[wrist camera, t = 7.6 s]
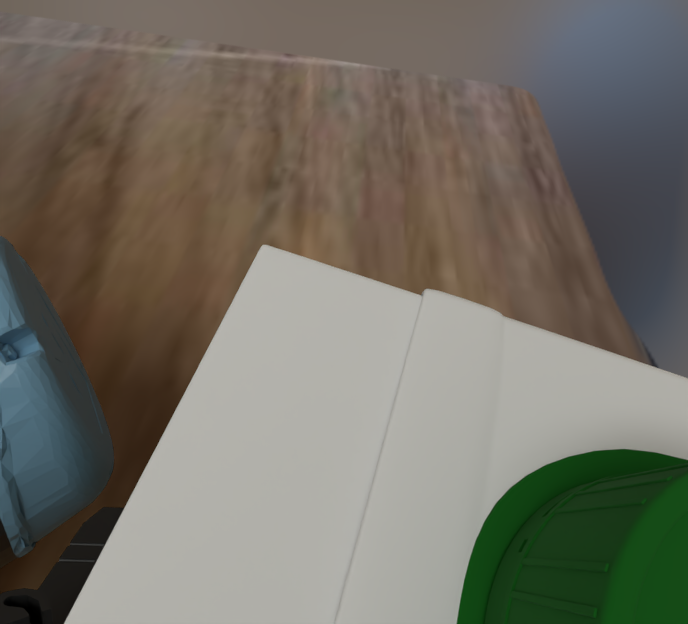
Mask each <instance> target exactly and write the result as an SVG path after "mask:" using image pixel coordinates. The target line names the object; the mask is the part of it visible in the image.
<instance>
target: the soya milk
mask: <svg viewBox="0 0 688 624" xmlns="http://www.w3.org/2000/svg"><path fill="white" fill-rule="evenodd" d="M64 624H688V378H685V377H682V376H679V375H676V374H673V373H670V372H667V371H665V370H662V369H659V368H656V367H653V366H650V365H647V364H644V363H641V362H638V361H635V360H632V359H629V358H626V357H623V356H620V355H617V354H615V353H612V352H609V351H606V350H603V349H600V348H597V347H594V346H591V345H588V344H585V343H582V342H579V341H576V340H573V339H570V338H567V337H564V336H562V335H559V334H556V333H553V332H550V331H547V330H544V329H541V328H538V327H535V326H532V325H529V324H526V323H523V322H520V321H517V320H514V319H511V318H508V317H505V316H503V315H502V314H501V313H500V312H498V311H496V310H494V309H492V308H489V307H487V306H484V305H481V304H478V303H475V302H472V301H469V300H467V299H464V298H460V297H457V296H454V295H451V294H448V293H444V292H441V291H438V290H432V289H425V290H424V291H423V293H422V294H421V295H418V294H415V293H412V292H409V291H406V290H403V289H400V288H397V287H394V286H391V285H388V284H384V283H381V282H378V281H375V280H372V279H369V278H366V277H363V276H360V275H357V274H354V273H351V272H348V271H345V270H342V269H339V268H336V267H333V266H330V265H327V264H324V263H321V262H318V261H314V260H311V259H308V258H305V257H302V256H299V255H296V254H293V253H290V252H287V251H284V250H281V249H277V248H274V247H271V246H268V245H262V247H261V248H260V250H259V252H258V253H257V255H256V257H255V259H254V261H253V263H252V265H251V267H250V269H249V271H248V272H247V274H246V276H245V278H244V280H243V282H242V284H241V286H240V288H239V290H238V292H237V294H236V295H235V297H234V299H233V301H232V303H231V305H230V307H229V309H228V311H227V313H226V315H225V316H224V318H223V320H222V322H221V324H220V326H219V328H218V330H217V332H216V334H215V336H214V338H213V339H212V341H211V343H210V345H209V347H208V349H207V351H206V353H205V355H204V357H203V359H202V360H201V362H200V364H199V366H198V368H197V370H196V372H195V374H194V376H193V378H192V380H191V382H190V383H189V385H188V387H187V389H186V391H185V393H184V395H183V397H182V399H181V401H180V403H179V404H178V406H177V408H176V410H175V412H174V414H173V416H172V418H171V420H170V422H169V424H168V426H167V427H166V429H165V431H164V433H163V435H162V437H161V439H160V441H159V443H158V445H157V447H156V448H155V450H154V452H153V454H152V456H151V458H150V460H149V462H148V464H147V466H146V468H145V470H144V471H143V473H142V475H141V477H140V479H139V481H138V483H137V485H136V487H135V489H134V491H133V492H132V494H131V496H130V498H129V500H128V502H127V504H126V506H125V508H124V510H123V512H122V514H121V515H120V517H119V519H118V521H117V523H116V525H115V527H114V529H113V531H112V533H111V535H110V536H109V538H108V540H107V542H106V544H105V546H104V548H103V550H102V552H101V554H100V556H99V558H98V559H97V561H96V563H95V565H94V567H93V569H92V571H91V573H90V575H89V577H88V579H87V580H86V582H85V584H84V586H83V588H82V590H81V592H80V594H79V596H78V598H77V600H76V602H75V603H74V605H73V607H72V609H71V611H70V613H69V615H68V617H67V619H66V621H65V623H64Z"/></svg>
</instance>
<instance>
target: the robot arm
mask: <svg viewBox="0 0 688 624" xmlns="http://www.w3.org/2000/svg"><path fill="white" fill-rule="evenodd" d="M113 465H114V451H113V444H112V439H111V436H110V432H109V429H108V425H107V422H106V419H105V417H104V414H103V411H102V408H101V406H100V403H99V401H98V398H97V396H96V394H95V391H94V389H93V387H92V384H91V382H90V379H89V377H88V375H87V373H86V370H85V368H84V366H83V364H82V362H81V360H80V357H79V355H78V353H77V351H76V349H75V347H74V345H73V343H72V341H71V339H70V337H69V335H68V333H67V331H66V329H65V327H64V325H63V323H62V321H61V319H60V317H59V316H58V314H57V312H56V310H55V308H54V307H53V305H52V303H51V301H50V299H49V298H48V296H47V294H46V292H45V291H44V289H43V287H42V286H41V284H40V282H39V281H38V279H37V278H36V276H35V274H34V273H33V271H32V270H31V268H30V267H29V265H28V264H27V263H26V261H25V260H24V259H23V258H22V257H21V256H20V255H18V253H17V252H16V250H15V249H14V247H13V245H12V244H11V243H10V242H9V241H8V240H7V239H5V238H4V237H2V236H0V568H1V567H3V566H5V565H6V564H8V563H9V562H11V561H13V560H14V559H16V558H17V557H22V556H24V555H25V554H27V553H28V552H30V551H32V550H33V548H34V547H35V544H36V542H37V541H39V540H40V539H42V538H43V537H45V536H46V535H47V534H49V533H50V532H52V531H53V530H54V529H56V528H57V527H59V526H60V525H61V524H63V523H64V522H66V521H67V520H68V519H70V518H71V517H73V516H74V515H76V514H77V513H78V512H80V511H81V510H83V509H84V508H85V507H87V506H88V505H90V504H91V503H92V502H93V501H94V500H95V499H96V498H97V497H98V495H99V494H100V493H101V492H102V490H103V489H104V488H105V486H106V484H107V482H108V480H109V478H110V476H111V474H112V471H113ZM123 510H124V508H112V507H103V508H102V509H101V510H100V511H98V512H97V513H96V514H94V515H93V516H92V517H91V518H89V519H88V520H87V521H86V522H84V523H83V525H82V526H81V528H80V529H79V531H78V532H77V534H76V535H75V536H74V538H73V539H72V541H71V543H70V546H68V547H67V548H66V550H65V551H64V552H63V554H62V555H61V557H60V559H59V562H57V563H56V564H55V566H54V567H53V568H52V570H51V571H50V573H49V574H48V576H47V577H46V579H45V580H44V582H43V583H42V585H41V586H40V587H39V589H38V590H33V589H25V588H23V589H18V590H12V591H7V592H4V593H2V594H0V624H64V623H65V621H66V619H67V617H68V615H69V613H70V611H71V609H72V607H73V605H74V603H75V602H76V600H77V598H78V596H79V594H80V592H81V590H82V588H83V586H84V584H85V582H86V580H87V579H88V577H89V575H90V573H91V571H92V569H93V567H94V565H95V563H96V561H97V559H98V558H99V556H100V554H101V552H102V550H103V548H104V546H105V544H106V542H107V540H108V538H109V536H110V535H111V533H112V531H113V529H114V527H115V525H116V523H117V521H118V519H119V517H120V515H121V514H122V512H123Z"/></svg>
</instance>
